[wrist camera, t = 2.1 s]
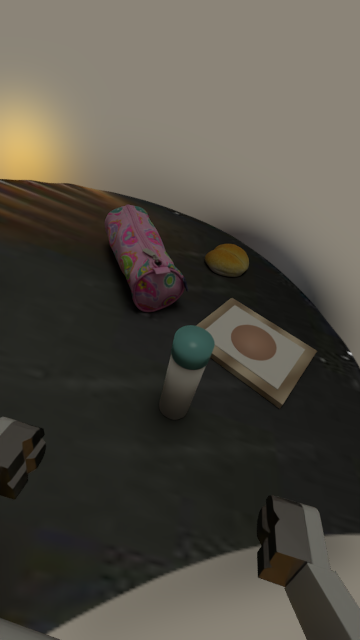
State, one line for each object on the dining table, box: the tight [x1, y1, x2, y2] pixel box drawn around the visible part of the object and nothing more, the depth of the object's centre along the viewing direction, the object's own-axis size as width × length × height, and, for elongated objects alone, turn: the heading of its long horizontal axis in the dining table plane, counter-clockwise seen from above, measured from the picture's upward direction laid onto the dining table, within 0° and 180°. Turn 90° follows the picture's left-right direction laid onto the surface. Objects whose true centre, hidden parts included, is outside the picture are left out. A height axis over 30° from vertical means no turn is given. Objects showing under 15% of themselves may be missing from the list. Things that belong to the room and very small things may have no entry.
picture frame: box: [197, 298, 317, 409], centre depth 44 cm, size 16×13×1 cm
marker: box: [159, 326, 215, 420], centre depth 31 cm, size 4×4×12 cm
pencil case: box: [105, 205, 188, 312], centre depth 50 cm, size 21×9×9 cm, turn 20°
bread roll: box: [205, 244, 249, 277], centre depth 59 cm, size 8×9×4 cm
